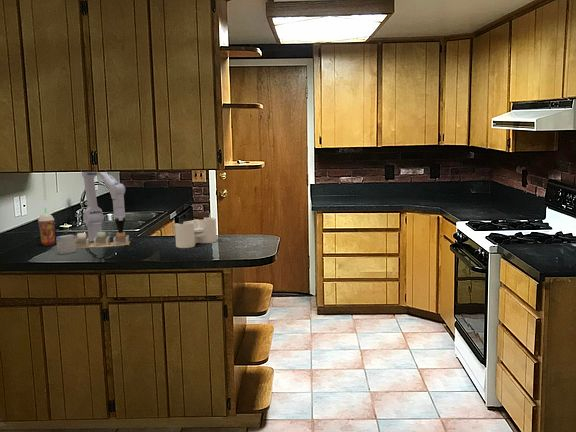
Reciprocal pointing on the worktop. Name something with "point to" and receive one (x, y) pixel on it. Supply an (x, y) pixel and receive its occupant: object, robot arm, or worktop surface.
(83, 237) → the ivory key
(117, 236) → the terracotta key
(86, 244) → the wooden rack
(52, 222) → the smoothie
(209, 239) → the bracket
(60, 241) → the medicine box
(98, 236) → the sage key
